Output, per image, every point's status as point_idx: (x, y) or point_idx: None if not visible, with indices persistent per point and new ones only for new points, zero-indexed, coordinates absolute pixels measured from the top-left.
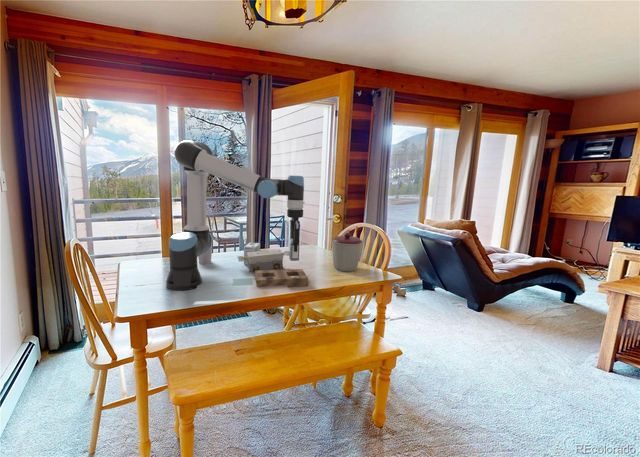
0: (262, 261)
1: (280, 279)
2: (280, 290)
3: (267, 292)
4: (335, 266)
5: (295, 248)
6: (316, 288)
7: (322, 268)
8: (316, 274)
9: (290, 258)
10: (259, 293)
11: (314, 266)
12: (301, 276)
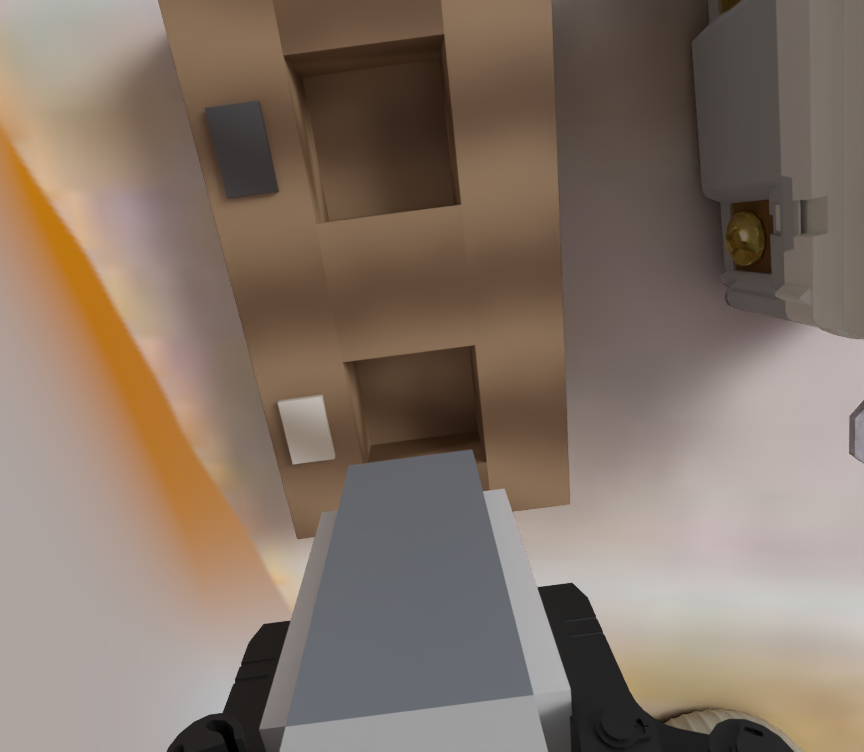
0: (788, 9)
1: (232, 282)
2: (183, 271)
3: (110, 143)
4: (690, 730)
5: (240, 705)
6: (268, 550)
7: (737, 625)
8: (592, 573)
9: (375, 476)
10: (66, 56)
11: (804, 573)
12: (340, 487)
